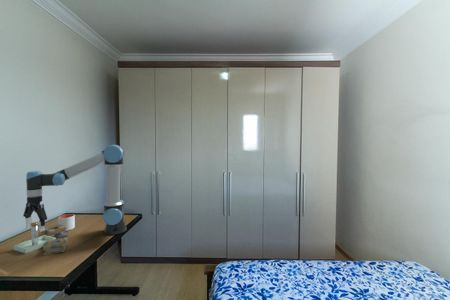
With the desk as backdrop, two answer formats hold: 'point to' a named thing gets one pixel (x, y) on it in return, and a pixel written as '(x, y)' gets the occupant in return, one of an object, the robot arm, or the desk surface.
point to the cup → (67, 221)
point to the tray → (27, 245)
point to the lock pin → (34, 233)
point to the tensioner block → (55, 231)
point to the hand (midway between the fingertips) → (35, 229)
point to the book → (55, 246)
